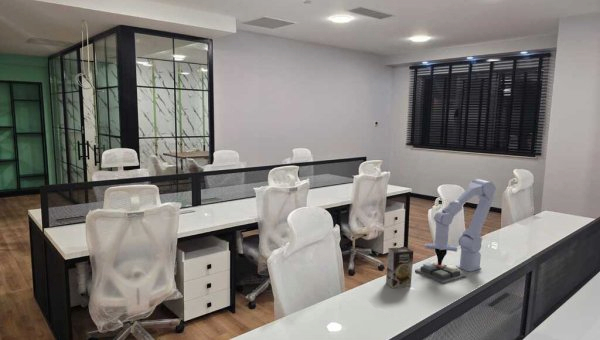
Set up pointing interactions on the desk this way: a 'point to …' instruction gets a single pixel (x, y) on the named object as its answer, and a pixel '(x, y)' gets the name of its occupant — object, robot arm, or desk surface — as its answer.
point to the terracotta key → (439, 265)
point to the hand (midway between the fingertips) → (439, 264)
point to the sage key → (441, 272)
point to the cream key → (451, 268)
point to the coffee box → (399, 267)
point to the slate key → (429, 266)
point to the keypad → (438, 277)
